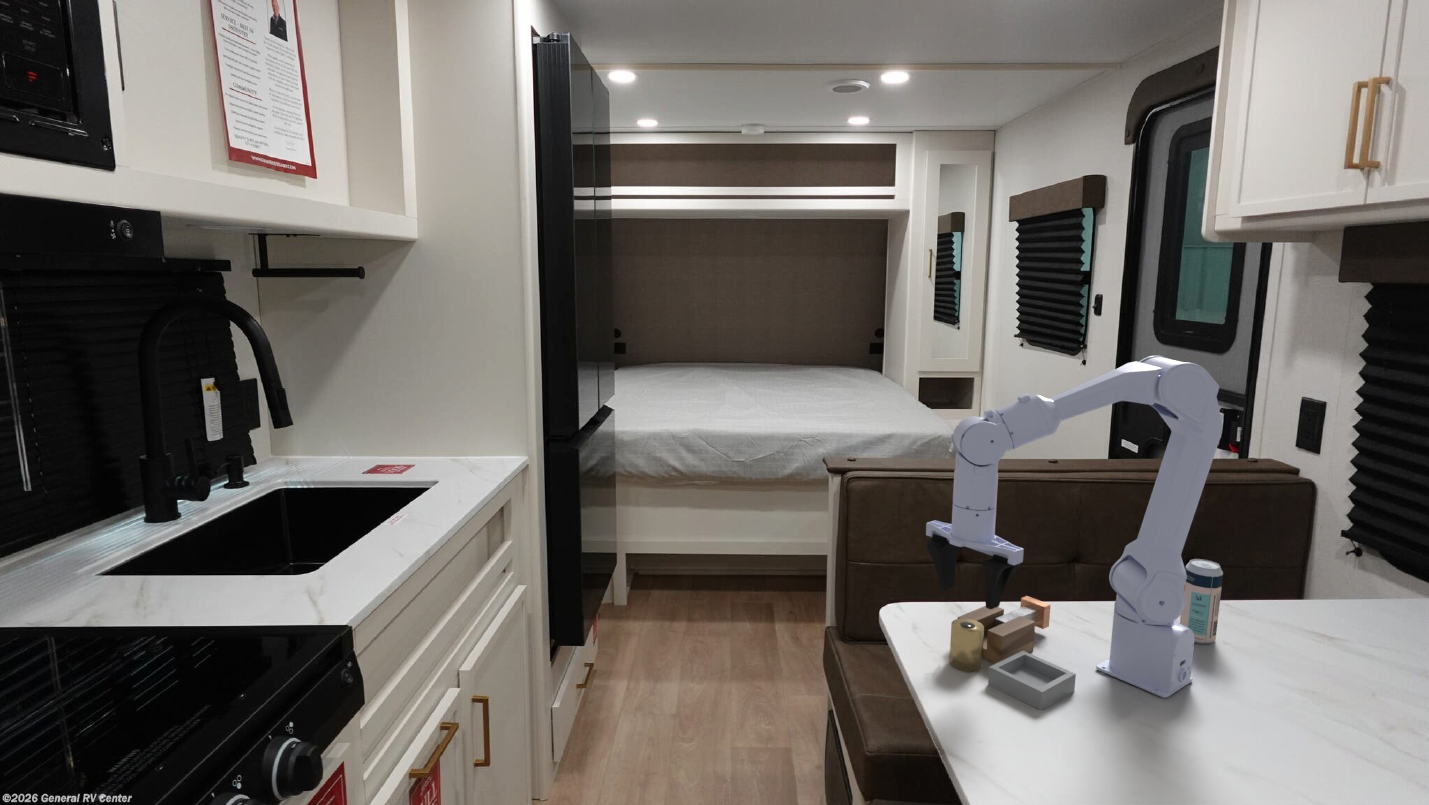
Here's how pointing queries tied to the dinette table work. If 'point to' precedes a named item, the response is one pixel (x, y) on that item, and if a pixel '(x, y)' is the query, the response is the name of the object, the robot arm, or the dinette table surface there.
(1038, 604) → the shaft
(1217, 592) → the beer can
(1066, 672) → the socket
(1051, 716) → the dinette table surface
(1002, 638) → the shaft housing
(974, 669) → the pepper mill
